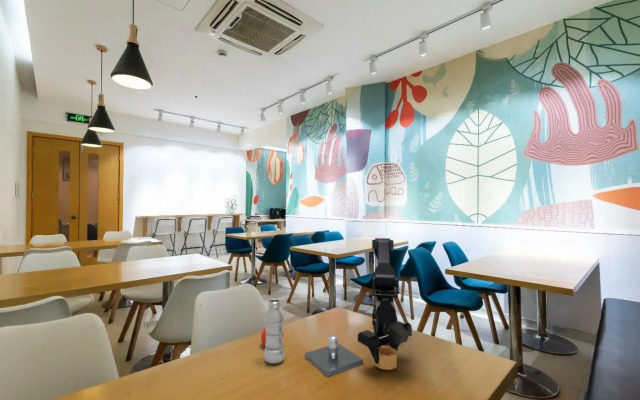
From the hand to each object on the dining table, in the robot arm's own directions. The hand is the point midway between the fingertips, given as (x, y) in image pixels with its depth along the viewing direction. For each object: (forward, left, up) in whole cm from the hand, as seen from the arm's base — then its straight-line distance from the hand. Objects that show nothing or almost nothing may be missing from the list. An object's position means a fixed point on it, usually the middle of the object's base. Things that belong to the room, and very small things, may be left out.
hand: (385, 360), depth 95 cm
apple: (+25, -33, -2) cm, 41 cm away
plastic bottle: (+29, -22, -2) cm, 36 cm away
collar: (0, 0, -1) cm, 1 cm away
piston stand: (+12, -12, -2) cm, 17 cm away
